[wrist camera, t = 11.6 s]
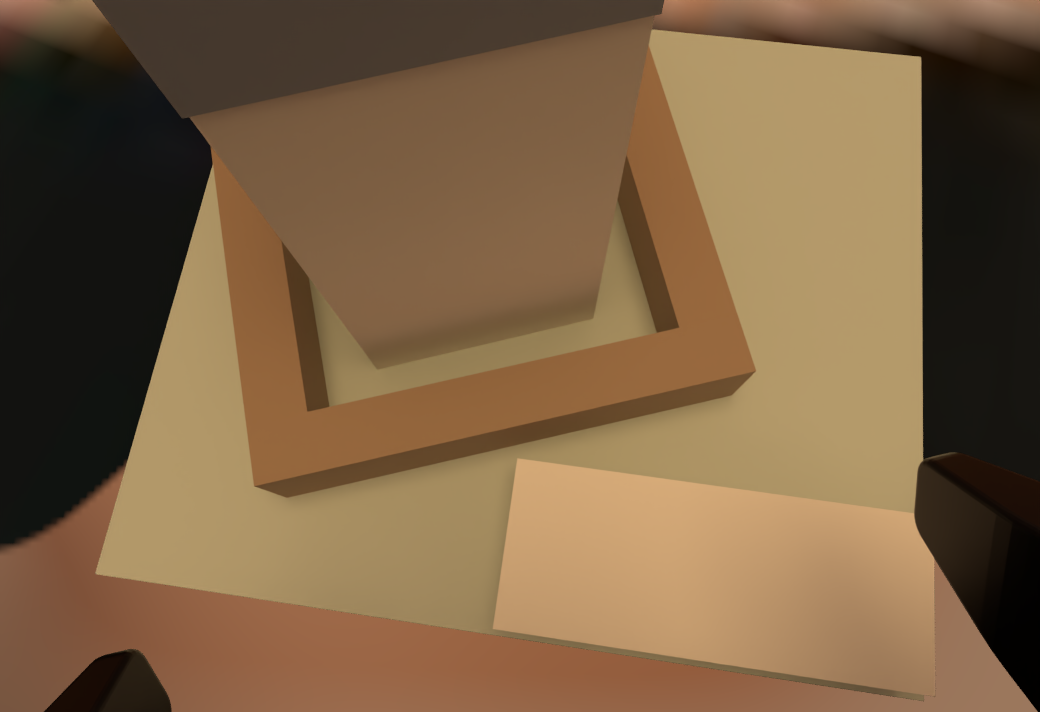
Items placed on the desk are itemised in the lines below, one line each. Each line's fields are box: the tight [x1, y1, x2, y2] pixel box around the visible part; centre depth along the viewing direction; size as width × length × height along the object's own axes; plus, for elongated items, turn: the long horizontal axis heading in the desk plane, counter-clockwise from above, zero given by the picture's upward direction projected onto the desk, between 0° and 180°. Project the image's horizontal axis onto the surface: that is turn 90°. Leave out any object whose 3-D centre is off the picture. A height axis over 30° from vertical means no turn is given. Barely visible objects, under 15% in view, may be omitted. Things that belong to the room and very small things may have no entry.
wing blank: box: [493, 458, 935, 697], centre depth 15 cm, size 3×8×2 cm, turn 82°
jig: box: [95, 30, 924, 701], centre depth 17 cm, size 15×17×3 cm
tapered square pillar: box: [92, 0, 664, 370], centre depth 11 cm, size 5×5×15 cm
